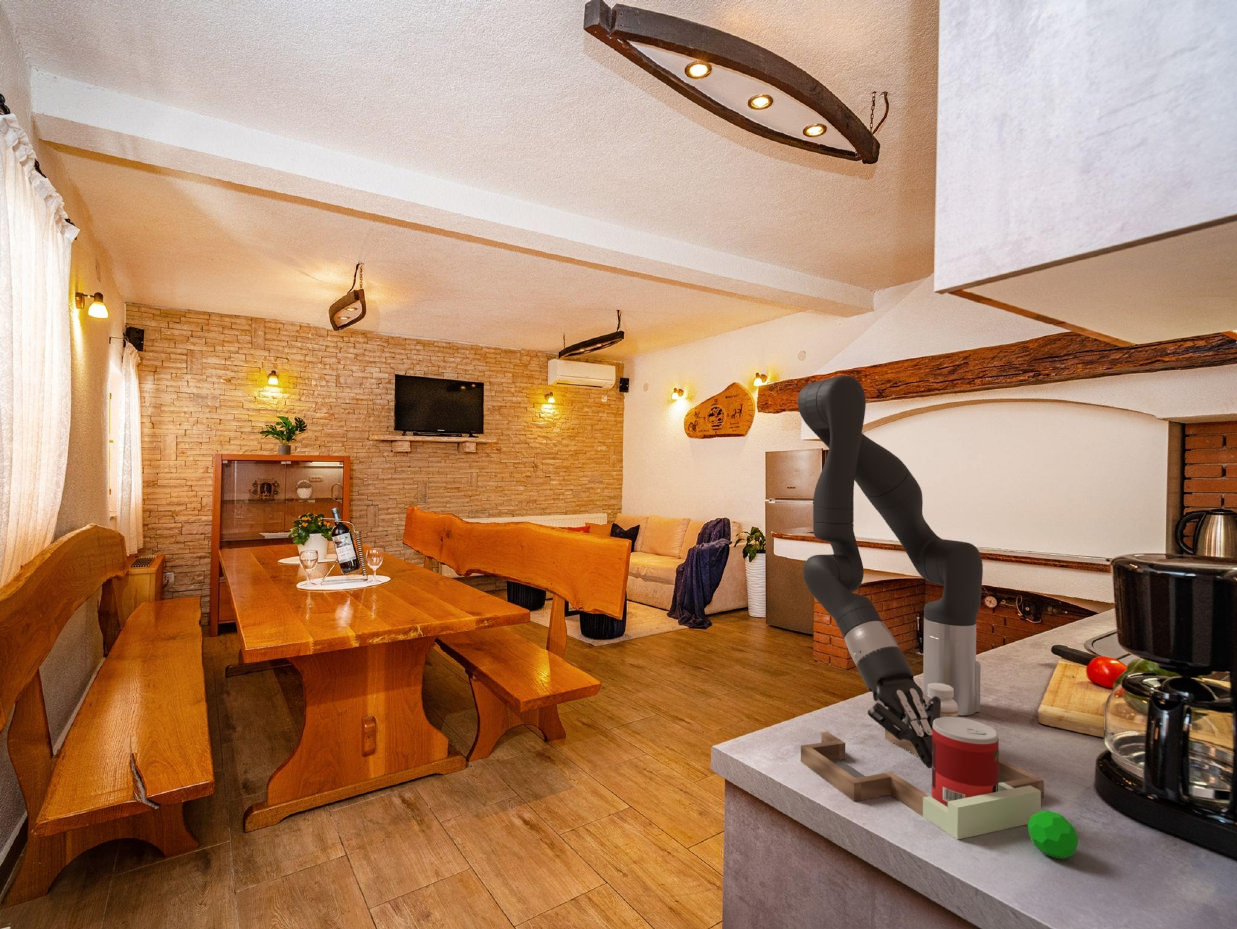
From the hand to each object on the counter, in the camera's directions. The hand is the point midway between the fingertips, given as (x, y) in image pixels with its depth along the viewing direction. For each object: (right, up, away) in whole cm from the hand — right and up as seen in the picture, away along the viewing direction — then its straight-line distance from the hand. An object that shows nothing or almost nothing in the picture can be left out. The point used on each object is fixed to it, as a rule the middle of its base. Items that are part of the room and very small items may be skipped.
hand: (936, 765), depth 89 cm
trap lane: (-2, -4, +5) cm, 7 cm away
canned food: (+2, -4, -4) cm, 6 cm away
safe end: (+2, -4, -7) cm, 8 cm away
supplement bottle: (+9, -4, +16) cm, 19 cm away
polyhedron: (+7, -4, -14) cm, 16 cm away
